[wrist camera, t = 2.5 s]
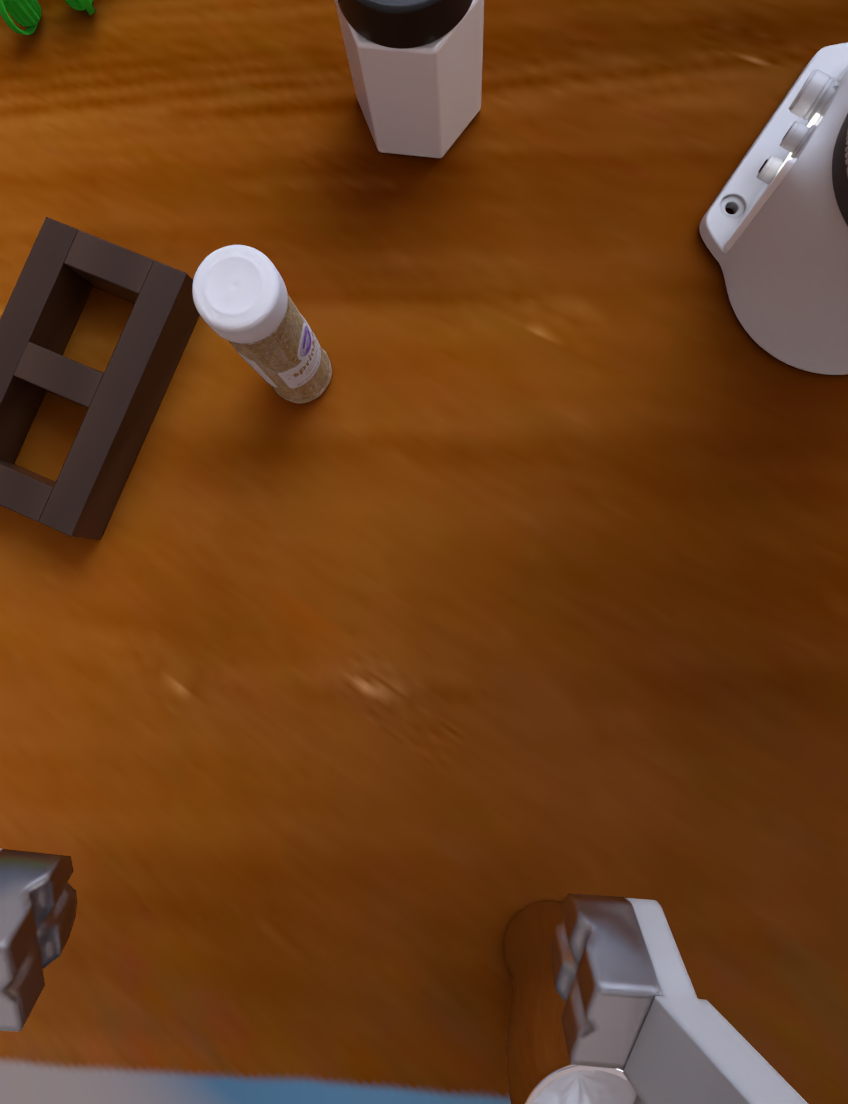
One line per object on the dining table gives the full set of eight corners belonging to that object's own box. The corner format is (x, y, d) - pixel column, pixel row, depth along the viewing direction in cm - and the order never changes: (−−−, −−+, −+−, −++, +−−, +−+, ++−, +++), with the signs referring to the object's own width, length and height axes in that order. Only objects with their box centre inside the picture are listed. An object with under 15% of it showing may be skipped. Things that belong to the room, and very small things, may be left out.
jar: (412, 23, 46) (394, -171, 35) (502, 87, 46) (515, -89, 34) (335, 121, 46) (289, -40, 35) (423, 186, 46) (408, 45, 34)
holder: (-30, 482, 47) (-70, 474, 43) (76, 243, 47) (45, 216, 44) (100, 540, 46) (70, 536, 43) (207, 296, 46) (187, 273, 43)
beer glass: (476, 960, 43) (481, 1161, 28) (533, 872, 43) (568, 1025, 28) (566, 1023, 42) (621, 1262, 27) (623, 933, 42) (708, 1123, 27)
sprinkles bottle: (335, 401, 45) (281, 325, 32) (272, 407, 46) (192, 335, 32) (330, 337, 46) (274, 236, 32) (267, 344, 46) (185, 246, 33)
